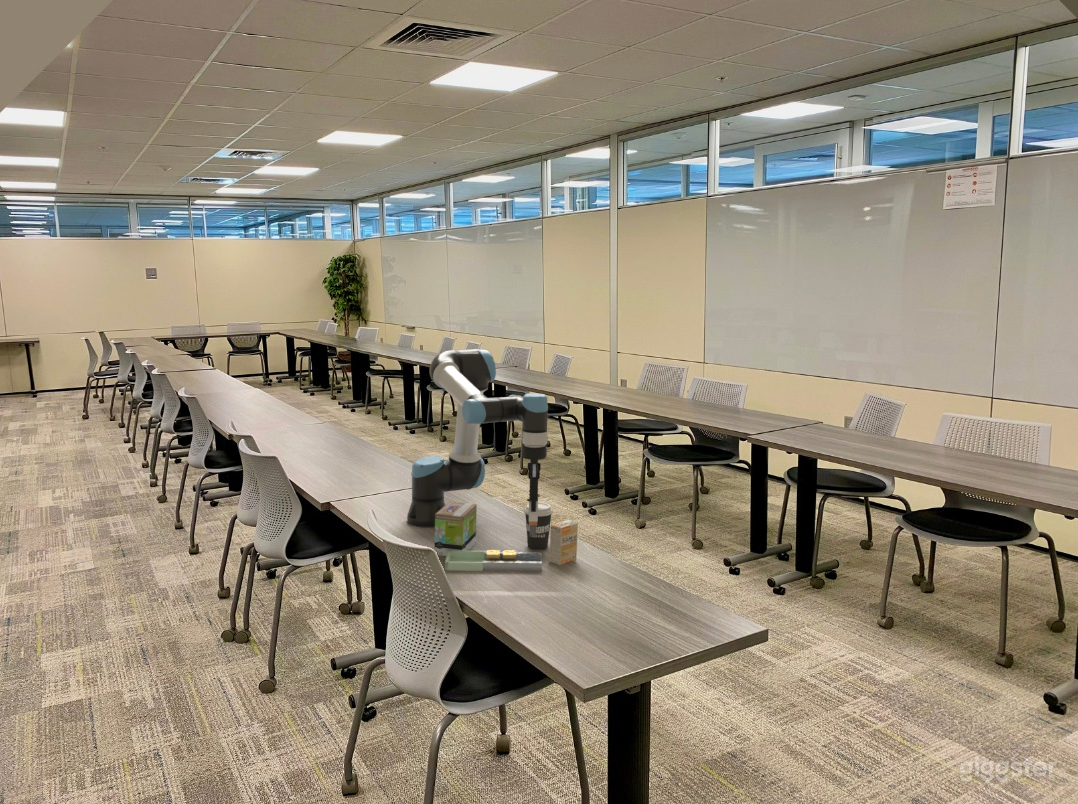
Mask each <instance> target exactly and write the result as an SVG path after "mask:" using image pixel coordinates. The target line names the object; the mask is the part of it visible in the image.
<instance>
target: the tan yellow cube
mask: <svg viewBox="0 0 1078 804" xmlns="http://www.w3.org/2000/svg"><path fill="white" fill-rule="evenodd" d="M486 551H487V561H500V552H501V550H500V549H487V550H486Z"/></svg>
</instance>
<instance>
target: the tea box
mask: <svg viewBox="0 0 1078 804" xmlns="http://www.w3.org/2000/svg"><path fill="white" fill-rule="evenodd" d="M477 512H478V511H477V504H476V503H468V502H459V501H458V502H456V501H448V502H447V503H445V506H444V507H443V508H442V509H440V510H439V511H438V512H437V513H436V514H435V527H434V549H433V551H434V550H435V551H436V552H437V554H438V555H437V556H441V557H444V556H445V557H447V553H448V550H466V551H471V549H472V548H473V546H474V545H475V544H476V542H477Z"/></svg>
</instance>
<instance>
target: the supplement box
mask: <svg viewBox="0 0 1078 804" xmlns="http://www.w3.org/2000/svg"><path fill="white" fill-rule="evenodd" d="M578 525H579V522H577V521H573V520H569V519H565V520H561V521H559V522H556V523H553V524H550V531H549V539H550V541H549V562H550V563H553V564H556V565H558V566H562V565H564V564H567V563H569V562H573V563H574V562H577V555H578V554H577V552H578V551H577V550H578V530H579V529H578V528H579V527H578Z"/></svg>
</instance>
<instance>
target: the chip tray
mask: <svg viewBox="0 0 1078 804" xmlns="http://www.w3.org/2000/svg"><path fill="white" fill-rule="evenodd" d="M485 551H486V550H469V551H466V550H448V553H447V556H445V560H444V571H463V572H465V571H467V572H470V571H471V572H473V571H474V572H476V571H477V572H483V571H484V570H483V561H484V552H485Z"/></svg>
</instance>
